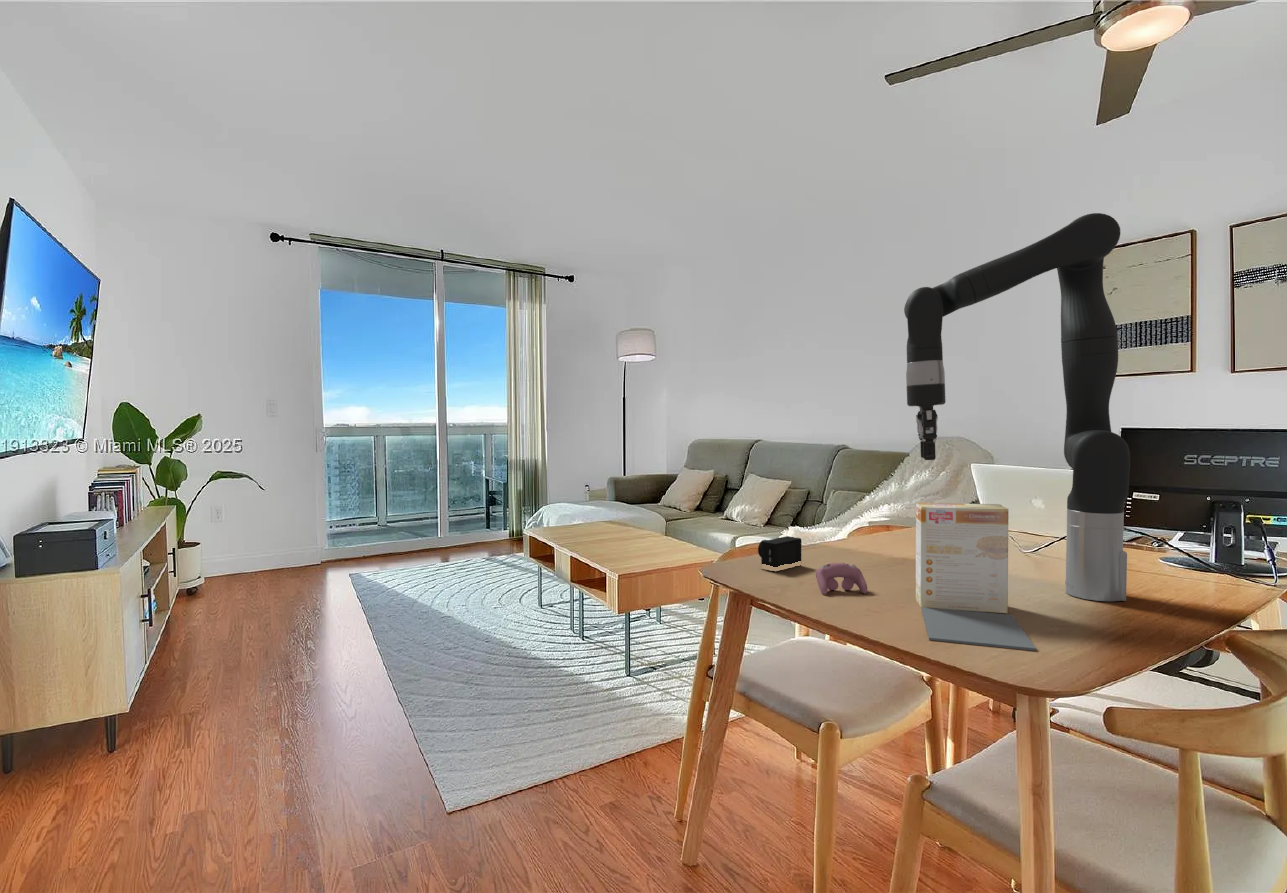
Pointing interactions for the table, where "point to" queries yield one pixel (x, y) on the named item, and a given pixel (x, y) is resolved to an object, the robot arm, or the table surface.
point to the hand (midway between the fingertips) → (927, 458)
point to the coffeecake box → (962, 556)
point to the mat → (975, 628)
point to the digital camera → (780, 551)
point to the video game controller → (843, 570)
